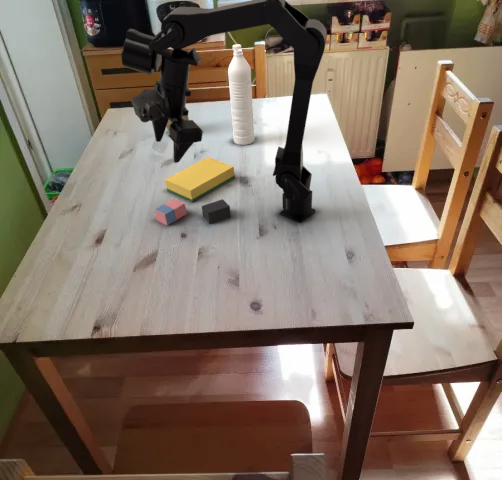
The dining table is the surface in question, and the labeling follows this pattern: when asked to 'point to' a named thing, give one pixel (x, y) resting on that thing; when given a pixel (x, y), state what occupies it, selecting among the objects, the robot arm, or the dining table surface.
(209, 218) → the grey eraser
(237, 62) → the water bottle
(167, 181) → the sponge
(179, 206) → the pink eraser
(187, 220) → the dining table surface
